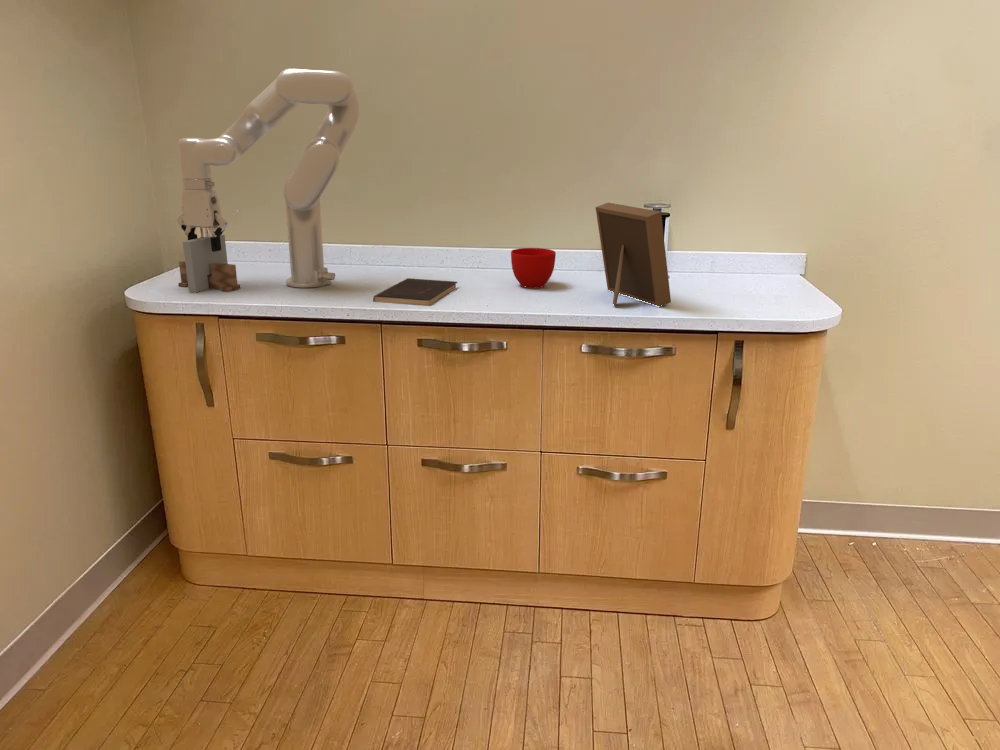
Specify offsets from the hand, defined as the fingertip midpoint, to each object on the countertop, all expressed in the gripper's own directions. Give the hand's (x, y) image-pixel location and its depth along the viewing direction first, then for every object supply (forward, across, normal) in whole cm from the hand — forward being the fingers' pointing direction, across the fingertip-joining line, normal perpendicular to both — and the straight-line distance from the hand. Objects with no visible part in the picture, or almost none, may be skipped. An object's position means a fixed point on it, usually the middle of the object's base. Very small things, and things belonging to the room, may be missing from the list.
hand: (205, 249), depth 214 cm
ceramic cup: (+11, -84, -40) cm, 94 cm away
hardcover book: (+12, -58, -15) cm, 61 cm away
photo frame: (+11, -113, -30) cm, 117 cm away
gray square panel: (+11, 0, 0) cm, 11 cm away
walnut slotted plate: (+11, 0, 0) cm, 11 cm away
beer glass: (+11, +19, -21) cm, 30 cm away
